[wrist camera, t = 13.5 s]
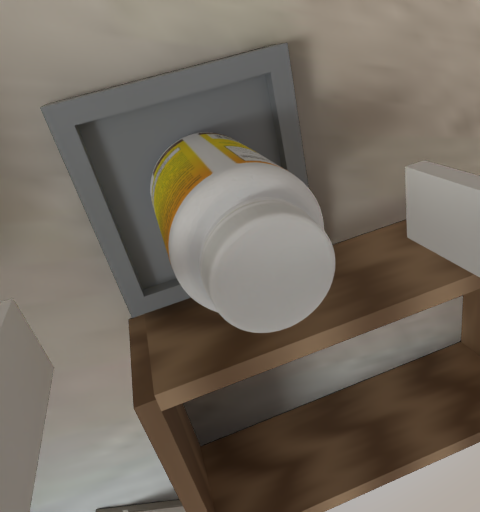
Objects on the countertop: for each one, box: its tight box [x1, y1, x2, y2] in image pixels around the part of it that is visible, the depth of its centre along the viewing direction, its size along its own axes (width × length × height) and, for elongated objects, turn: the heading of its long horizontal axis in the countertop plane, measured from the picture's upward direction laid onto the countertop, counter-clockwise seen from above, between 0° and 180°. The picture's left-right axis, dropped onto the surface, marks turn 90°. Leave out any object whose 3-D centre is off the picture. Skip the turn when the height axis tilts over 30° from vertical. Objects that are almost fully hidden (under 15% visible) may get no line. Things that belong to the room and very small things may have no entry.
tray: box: [40, 43, 309, 318], centre depth 21 cm, size 11×11×2 cm
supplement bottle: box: [150, 132, 335, 333], centre depth 16 cm, size 6×6×10 cm
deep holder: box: [129, 219, 480, 512], centre depth 25 cm, size 24×14×7 cm, turn 103°
